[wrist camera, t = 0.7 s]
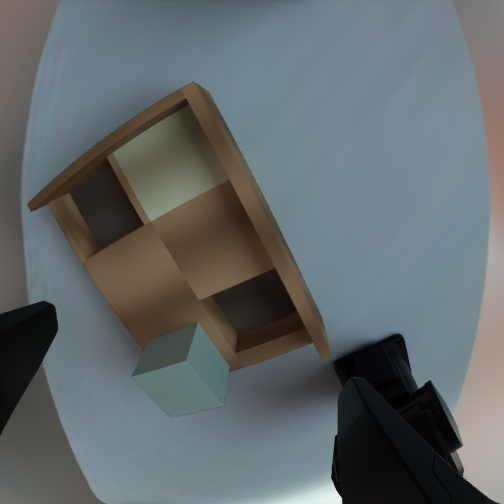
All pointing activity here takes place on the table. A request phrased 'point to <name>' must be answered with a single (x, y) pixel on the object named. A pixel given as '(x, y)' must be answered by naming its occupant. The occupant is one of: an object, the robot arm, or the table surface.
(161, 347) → the block
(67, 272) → the table surface
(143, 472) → the table surface
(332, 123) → the table surface
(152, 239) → the box
